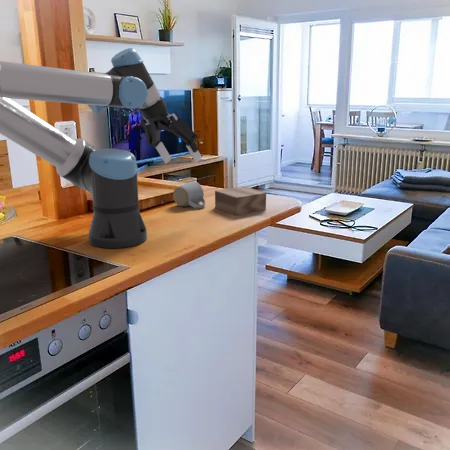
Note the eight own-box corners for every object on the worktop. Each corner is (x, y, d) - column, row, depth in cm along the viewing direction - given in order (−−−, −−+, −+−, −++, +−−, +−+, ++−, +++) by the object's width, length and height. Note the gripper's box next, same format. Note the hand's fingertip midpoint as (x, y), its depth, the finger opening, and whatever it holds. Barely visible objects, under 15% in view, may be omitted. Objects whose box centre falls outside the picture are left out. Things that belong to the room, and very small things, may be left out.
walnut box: (236, 216, 151) (236, 197, 149) (215, 208, 160) (215, 190, 158) (265, 210, 157) (266, 192, 156) (243, 203, 167) (243, 186, 165)
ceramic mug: (171, 205, 162) (171, 183, 160) (187, 201, 168) (187, 179, 166) (194, 211, 156) (194, 188, 153) (211, 206, 162) (211, 184, 160)
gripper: (187, 90, 133) (219, 152, 144) (130, 99, 149) (163, 154, 160) (171, 104, 129) (205, 167, 140) (115, 112, 145) (150, 168, 157)
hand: (183, 160), depth 150 cm, fingers open, 13 cm apart
